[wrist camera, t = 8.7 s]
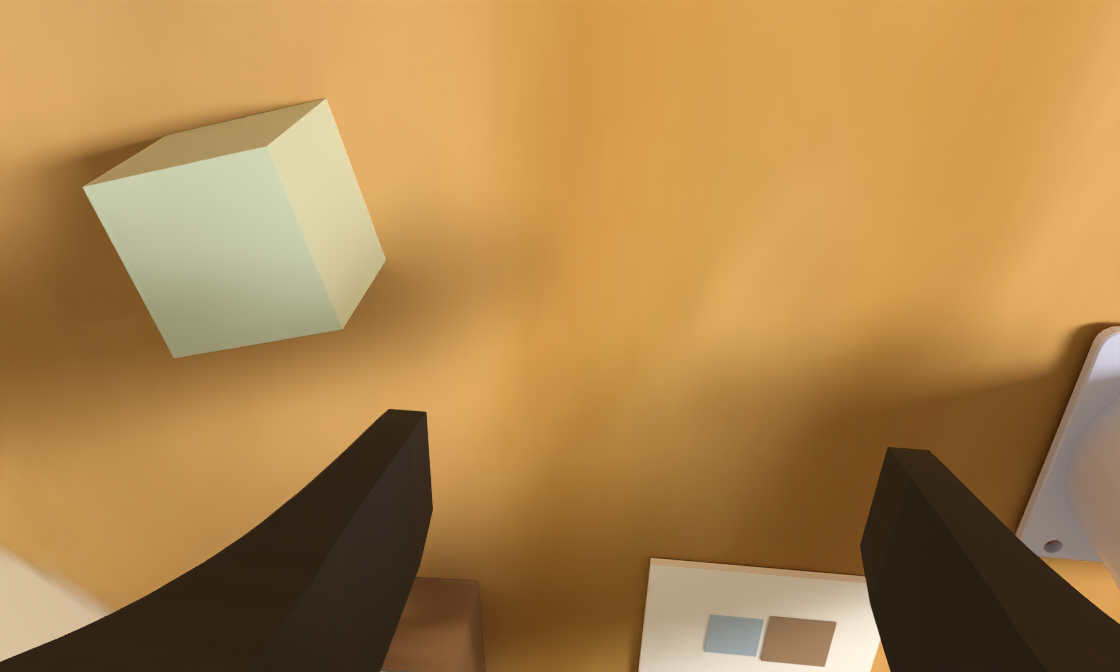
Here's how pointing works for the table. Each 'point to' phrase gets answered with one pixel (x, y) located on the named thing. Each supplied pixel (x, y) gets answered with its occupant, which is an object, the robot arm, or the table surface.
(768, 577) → the page
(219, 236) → the brick
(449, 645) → the base brick
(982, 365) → the table surface
